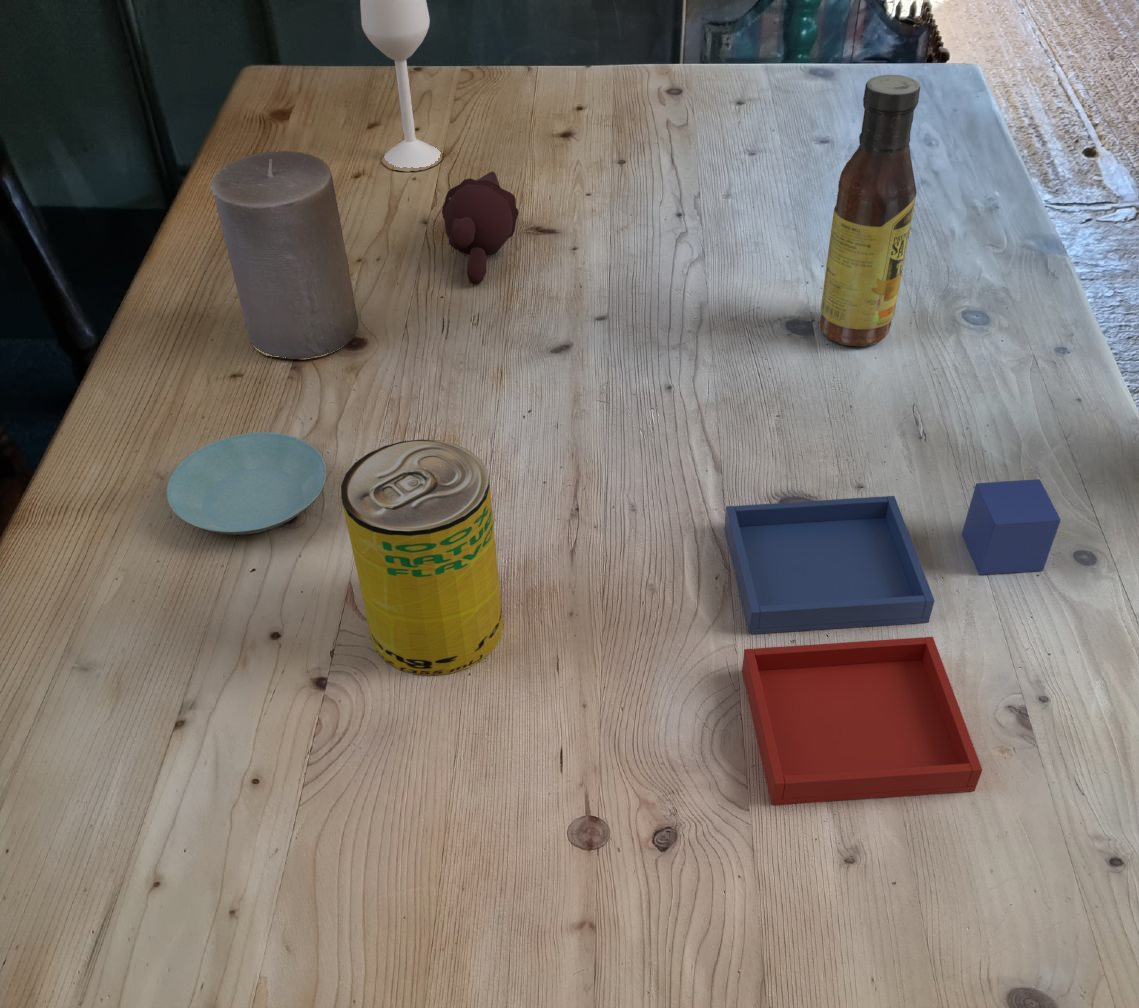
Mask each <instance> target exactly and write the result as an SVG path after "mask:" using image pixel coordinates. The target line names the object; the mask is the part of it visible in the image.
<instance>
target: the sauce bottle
mask: <svg viewBox="0 0 1139 1008" xmlns="http://www.w3.org/2000/svg"><path fill="white" fill-rule="evenodd" d="M920 91H921V85H920V82H919V81H918V80H915V79H914V78H912V77H908V76H905V75H900V74H882V75H878V76H874V77H871V78H869V79H868V80H867V81H866V83H865V87H864V93H863V98H862V101H863V103H862V105H863V109H864V111H863V118H862V125H861V132H860V133H859V136H858V139H859V140H858V142H859V146H858V147H857V149H856V150H855V151H854V153H853V154H852V155H851V157H850V159H849V160H848V161H847V162H846V163H845V165H844V166H843V169H842V170H841V173H840V176H839V180H838V185H837V189H838V190H837V195H836V204H835V206H834V209H833V214H832V215H833V216H832V220H831V221H832V222H831V229H830V237H829V244H828V252H827V259H826V265H825V273H824V281H823V282H824V283H823V290H822V297H821V304H820V312H821V315H820V320H819V327H820V331H821V333H822V334H823V335H824V336H825V337H827V339H828V340H830V341H832V342H834V343H837V344H838V345H842V346H849V347H868V346H871V345H874V344H876V343H879V342H880V341H882V340H884V339H885V338H886V337H887V336H888V335H889V332H890V329H891V326H892V320H893V319H894V318H895V312H896V307H897V303H898V302H897V301H898V297H899V292H900V286H901V280H902V276H903V271H904V265H905V261H906V260H905V259H906V254H907V249H908V243H909V238H910V232H911V225H912V221H913V216H914V211H915V203H916V198H917V194H918V193H917V188H916V179H915V175H914V169H913V162H912V155H911V147H910V142H911V131H912V127H913V126H912V125H913V120H914V113H915V110H916V108H917V106H918V104H919V100H920Z"/></svg>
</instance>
